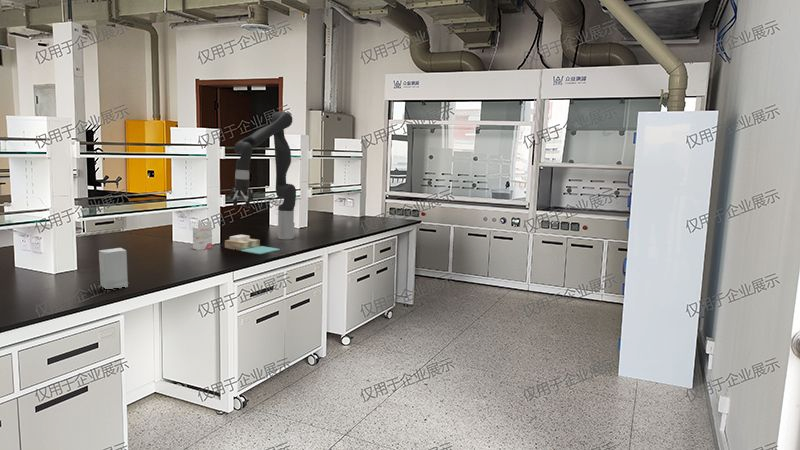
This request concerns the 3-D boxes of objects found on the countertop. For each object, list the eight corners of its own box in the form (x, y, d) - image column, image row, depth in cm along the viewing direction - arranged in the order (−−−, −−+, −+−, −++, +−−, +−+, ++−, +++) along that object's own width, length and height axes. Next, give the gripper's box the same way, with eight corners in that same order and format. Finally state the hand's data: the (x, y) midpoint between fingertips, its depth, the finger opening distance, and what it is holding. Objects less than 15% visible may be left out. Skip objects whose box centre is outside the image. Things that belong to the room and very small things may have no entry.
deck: (243, 244, 312) (243, 237, 311) (259, 247, 306) (259, 239, 306) (224, 247, 299) (224, 240, 299) (241, 250, 294) (241, 243, 293)
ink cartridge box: (206, 246, 299) (206, 219, 297) (212, 248, 296) (212, 221, 294) (192, 248, 293) (192, 221, 291) (197, 250, 290) (197, 222, 288)
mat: (261, 246, 307) (261, 245, 307) (280, 249, 301) (280, 248, 301) (241, 251, 293) (241, 250, 293) (260, 254, 287) (260, 253, 287)
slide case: (241, 238, 309) (241, 234, 308) (249, 239, 306) (249, 235, 306) (229, 240, 301) (229, 236, 300) (237, 241, 298) (238, 237, 298)
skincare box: (122, 284, 217) (121, 247, 215) (128, 287, 213) (127, 249, 211) (99, 287, 211) (98, 249, 209) (105, 291, 207) (104, 252, 205)
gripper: (256, 179, 308) (255, 208, 310) (237, 177, 314) (236, 205, 316) (247, 179, 301) (246, 209, 303) (227, 177, 307) (226, 206, 309)
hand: (241, 207), depth 309 cm, fingers open, 8 cm apart
